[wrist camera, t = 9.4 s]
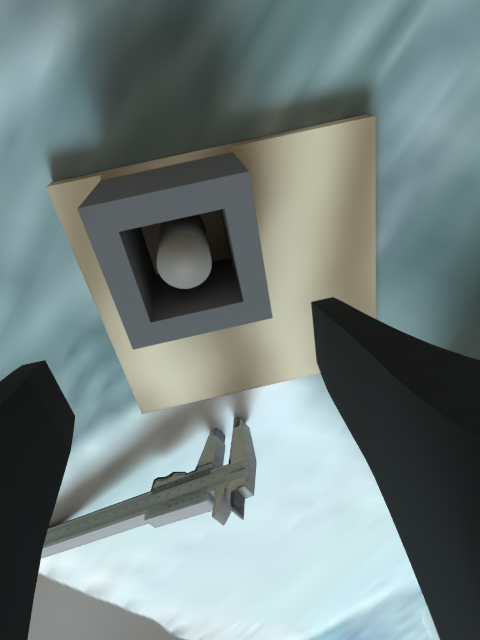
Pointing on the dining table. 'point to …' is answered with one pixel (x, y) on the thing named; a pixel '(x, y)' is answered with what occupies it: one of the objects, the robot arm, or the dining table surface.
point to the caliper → (173, 495)
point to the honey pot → (429, 624)
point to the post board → (278, 255)
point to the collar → (135, 262)
